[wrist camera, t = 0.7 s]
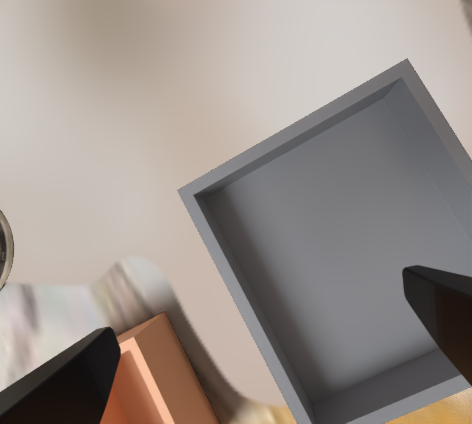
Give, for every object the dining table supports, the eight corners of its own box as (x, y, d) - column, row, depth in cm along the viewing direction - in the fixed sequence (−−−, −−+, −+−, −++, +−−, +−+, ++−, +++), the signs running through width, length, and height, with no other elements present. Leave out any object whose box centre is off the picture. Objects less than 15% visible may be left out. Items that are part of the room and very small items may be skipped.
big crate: (521, 315, 19) (584, 339, 15) (306, 409, 21) (312, 453, 17) (383, 88, 21) (407, 58, 17) (194, 195, 23) (177, 190, 19)
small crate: (223, 430, 22) (206, 491, 17) (146, 464, 23) (110, 532, 18) (165, 311, 23) (133, 336, 18) (93, 348, 24) (44, 382, 19)
